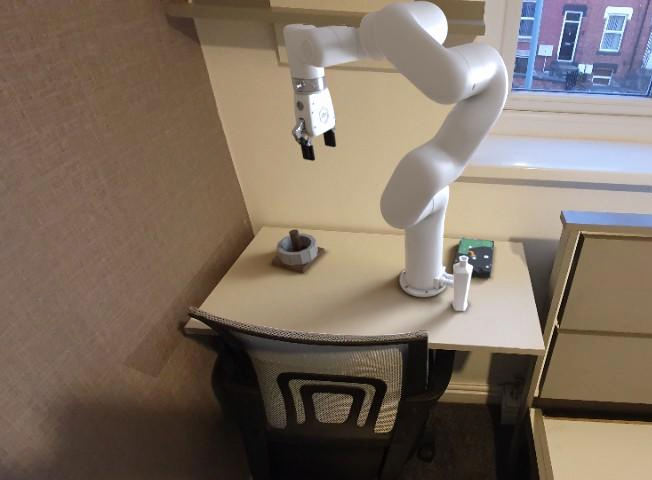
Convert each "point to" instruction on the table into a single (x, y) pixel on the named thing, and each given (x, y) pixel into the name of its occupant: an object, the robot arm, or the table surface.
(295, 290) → the table surface
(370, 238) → the table surface
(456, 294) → the perfume bottle
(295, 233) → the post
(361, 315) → the table surface
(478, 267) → the disk drive
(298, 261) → the tape roll
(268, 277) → the table surface
